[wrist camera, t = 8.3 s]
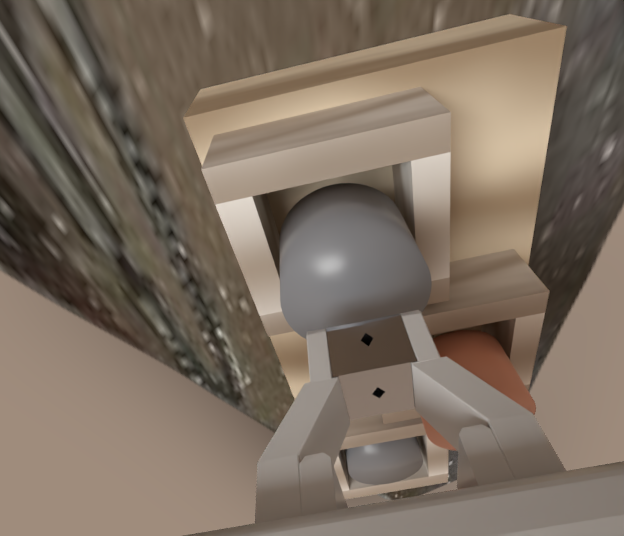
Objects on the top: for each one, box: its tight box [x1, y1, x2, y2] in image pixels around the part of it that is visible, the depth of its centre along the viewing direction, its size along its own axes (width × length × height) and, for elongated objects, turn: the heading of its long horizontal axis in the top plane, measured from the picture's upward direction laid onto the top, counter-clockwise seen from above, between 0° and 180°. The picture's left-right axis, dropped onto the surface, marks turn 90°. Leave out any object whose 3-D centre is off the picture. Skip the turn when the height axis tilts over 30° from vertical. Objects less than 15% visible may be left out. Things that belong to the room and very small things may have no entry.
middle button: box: [420, 330, 536, 450], centre depth 17 cm, size 4×4×3 cm
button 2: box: [345, 437, 423, 485], centre depth 25 cm, size 4×4×3 cm
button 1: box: [279, 183, 432, 340], centre depth 13 cm, size 4×4×3 cm
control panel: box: [183, 14, 567, 499], centre depth 21 cm, size 25×13×7 cm, turn 12°
